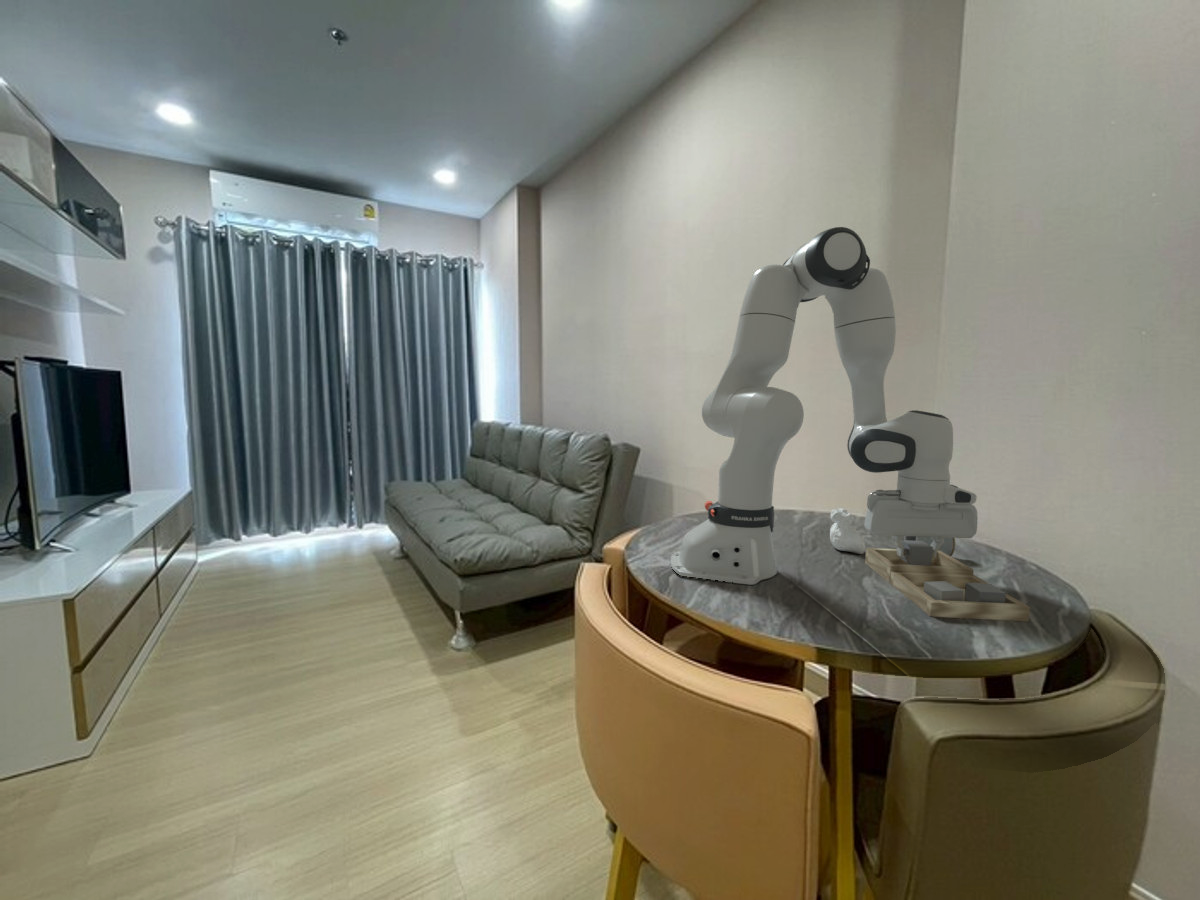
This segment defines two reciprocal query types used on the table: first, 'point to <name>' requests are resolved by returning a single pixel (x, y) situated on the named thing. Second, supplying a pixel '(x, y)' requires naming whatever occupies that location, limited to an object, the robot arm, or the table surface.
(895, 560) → the tray
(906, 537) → the ceramic mug
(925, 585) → the block
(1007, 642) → the table surface
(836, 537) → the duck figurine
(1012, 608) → the tray
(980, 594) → the stone right
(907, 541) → the stone mid
